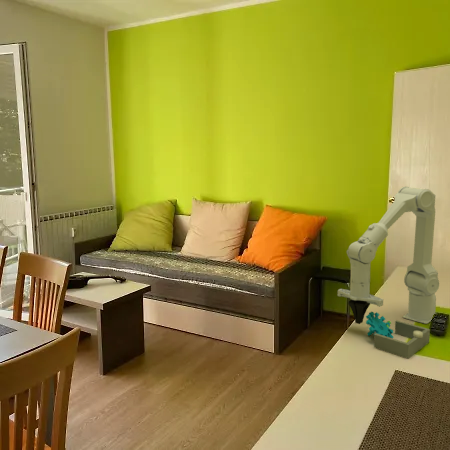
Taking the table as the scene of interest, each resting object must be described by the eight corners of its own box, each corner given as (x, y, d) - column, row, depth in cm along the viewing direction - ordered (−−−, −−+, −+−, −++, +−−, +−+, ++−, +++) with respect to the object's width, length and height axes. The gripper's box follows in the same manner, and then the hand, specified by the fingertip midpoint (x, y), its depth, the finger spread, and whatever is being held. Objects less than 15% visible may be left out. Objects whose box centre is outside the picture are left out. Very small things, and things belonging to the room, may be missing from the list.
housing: (396, 332, 140) (397, 316, 139) (431, 342, 132) (432, 326, 131) (373, 347, 130) (374, 330, 129) (410, 359, 123) (411, 341, 122)
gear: (381, 343, 129) (363, 312, 134) (367, 352, 133) (350, 322, 138) (402, 337, 136) (384, 308, 141) (388, 346, 140) (371, 317, 145)
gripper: (332, 279, 141) (331, 320, 143) (375, 289, 131) (374, 333, 133) (344, 274, 146) (343, 313, 148) (387, 283, 135) (385, 326, 138)
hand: (358, 322), depth 141 cm, fingers closed
